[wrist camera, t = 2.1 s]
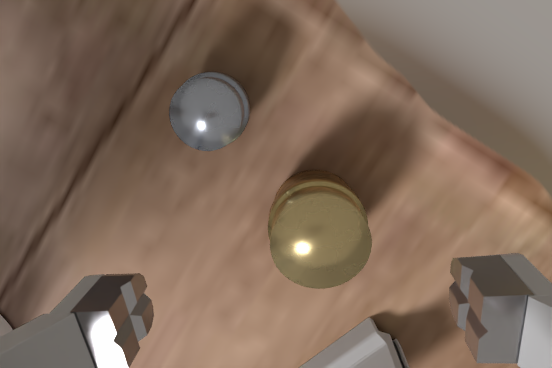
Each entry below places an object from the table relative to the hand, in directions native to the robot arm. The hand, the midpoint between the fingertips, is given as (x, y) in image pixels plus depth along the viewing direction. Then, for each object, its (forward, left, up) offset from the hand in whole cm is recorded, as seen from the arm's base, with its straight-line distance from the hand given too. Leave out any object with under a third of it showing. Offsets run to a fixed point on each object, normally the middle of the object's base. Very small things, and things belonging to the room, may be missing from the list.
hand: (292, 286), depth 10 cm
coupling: (-5, +4, -23) cm, 24 cm away
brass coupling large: (-1, -8, -23) cm, 25 cm away
